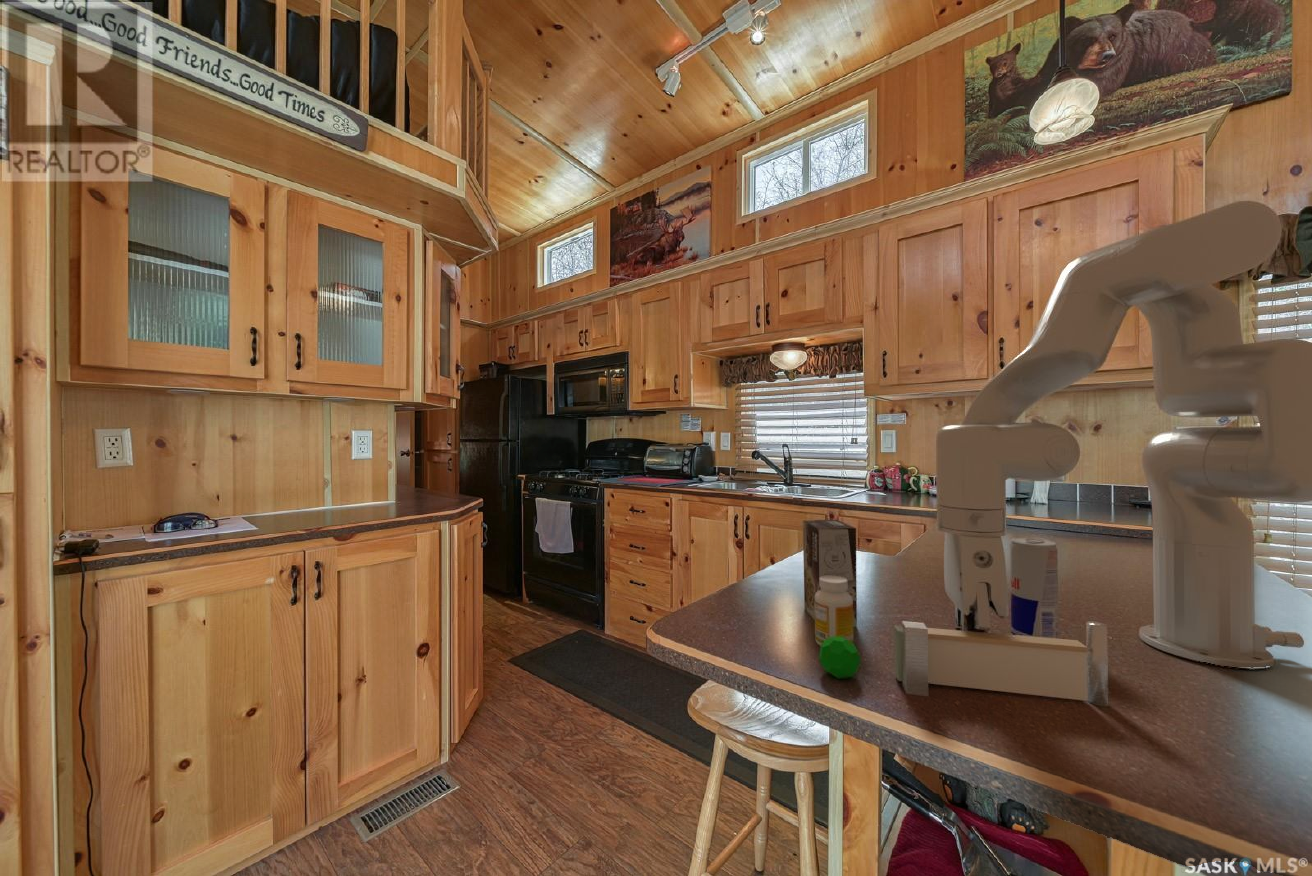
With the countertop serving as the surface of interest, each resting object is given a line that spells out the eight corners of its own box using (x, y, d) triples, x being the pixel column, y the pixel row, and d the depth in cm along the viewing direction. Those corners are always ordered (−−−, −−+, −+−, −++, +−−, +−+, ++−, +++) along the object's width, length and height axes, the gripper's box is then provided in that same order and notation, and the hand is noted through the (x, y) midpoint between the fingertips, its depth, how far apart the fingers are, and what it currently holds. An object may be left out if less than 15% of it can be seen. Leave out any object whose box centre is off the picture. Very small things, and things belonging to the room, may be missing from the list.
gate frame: (1099, 698, 57) (1098, 621, 57) (1115, 709, 54) (1114, 628, 54) (900, 685, 60) (899, 612, 60) (907, 695, 58) (906, 619, 58)
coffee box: (858, 627, 78) (857, 528, 78) (818, 627, 78) (817, 528, 78) (838, 607, 87) (837, 518, 87) (802, 607, 87) (801, 518, 87)
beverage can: (1048, 634, 74) (1047, 537, 74) (1065, 650, 69) (1064, 545, 69) (1005, 630, 76) (1004, 535, 76) (1019, 645, 71) (1018, 543, 71)
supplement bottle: (854, 639, 74) (853, 575, 74) (852, 654, 69) (851, 586, 69) (817, 634, 76) (816, 572, 76) (812, 647, 71) (812, 581, 71)
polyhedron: (831, 663, 66) (831, 628, 66) (867, 676, 62) (866, 639, 62) (812, 675, 63) (811, 638, 63) (848, 689, 59) (847, 650, 59)
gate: (1077, 692, 57) (1077, 640, 57) (1088, 701, 55) (1087, 647, 55) (894, 673, 62) (894, 625, 62) (898, 680, 60) (897, 631, 60)
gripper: (1028, 532, 54) (1030, 696, 54) (985, 512, 68) (986, 642, 68) (952, 529, 56) (953, 685, 56) (925, 510, 71) (926, 635, 71)
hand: (971, 661), depth 62 cm, fingers closed
